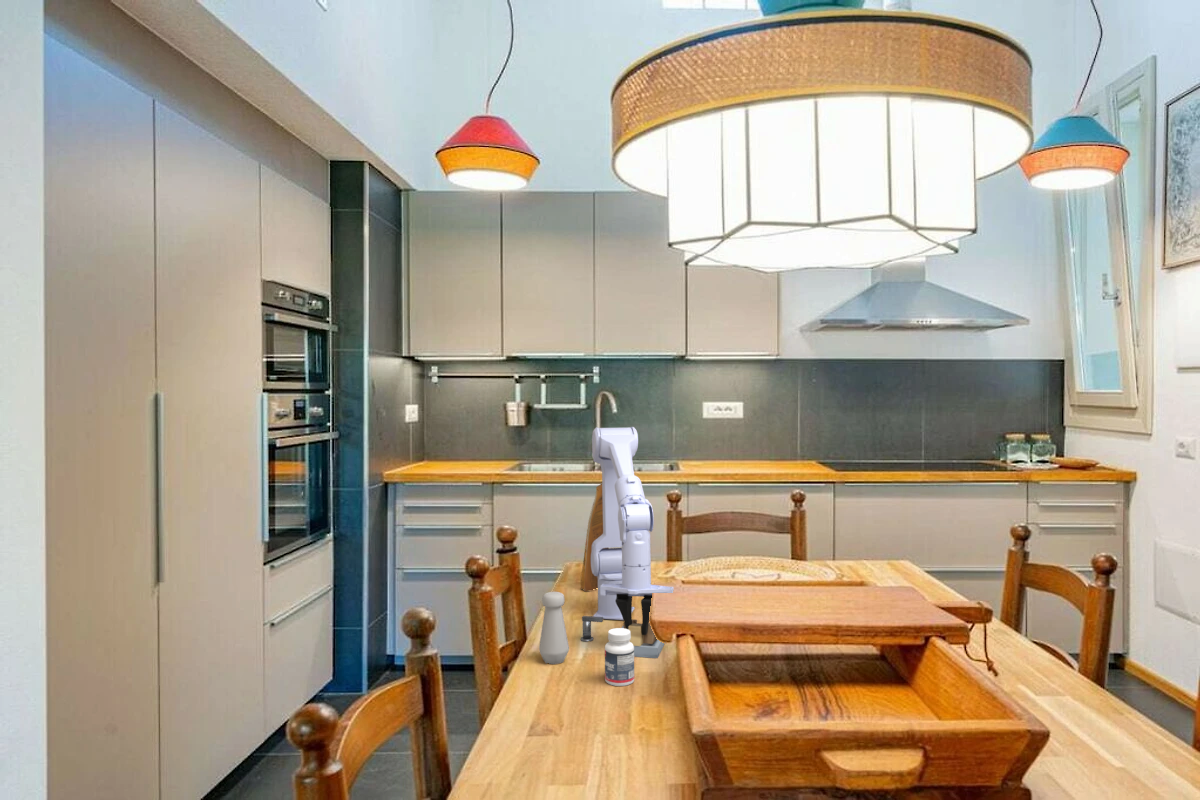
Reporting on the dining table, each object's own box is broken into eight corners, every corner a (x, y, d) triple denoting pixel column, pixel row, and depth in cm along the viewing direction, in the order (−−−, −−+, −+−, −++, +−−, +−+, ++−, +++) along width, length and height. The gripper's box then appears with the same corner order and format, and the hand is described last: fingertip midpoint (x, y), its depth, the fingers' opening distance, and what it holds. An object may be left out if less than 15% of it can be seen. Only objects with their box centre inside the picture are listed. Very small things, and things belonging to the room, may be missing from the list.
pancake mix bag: (619, 577, 204) (618, 478, 204) (599, 594, 186) (597, 486, 186) (596, 575, 206) (595, 477, 206) (574, 592, 188) (573, 485, 188)
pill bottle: (600, 677, 130) (600, 628, 130) (627, 673, 132) (626, 625, 132) (611, 688, 125) (610, 637, 125) (639, 684, 127) (638, 633, 127)
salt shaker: (571, 655, 141) (570, 589, 141) (567, 666, 136) (566, 597, 136) (541, 654, 142) (541, 588, 142) (536, 665, 136) (535, 596, 136)
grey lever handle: (582, 637, 152) (582, 614, 152) (604, 638, 151) (604, 615, 151) (579, 641, 150) (579, 618, 150) (601, 642, 149) (600, 619, 149)
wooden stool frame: (629, 637, 150) (629, 619, 151) (657, 639, 149) (657, 621, 149) (619, 644, 141) (619, 625, 142) (649, 646, 140) (649, 627, 140)
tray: (624, 633, 154) (624, 624, 154) (668, 636, 152) (667, 627, 152) (610, 654, 142) (609, 644, 142) (657, 658, 140) (657, 648, 139)
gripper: (596, 566, 142) (596, 636, 141) (669, 569, 138) (670, 641, 137) (604, 560, 148) (605, 626, 148) (674, 562, 145) (675, 630, 144)
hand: (637, 633), depth 143 cm, fingers closed on wooden stool frame, 3 cm apart
